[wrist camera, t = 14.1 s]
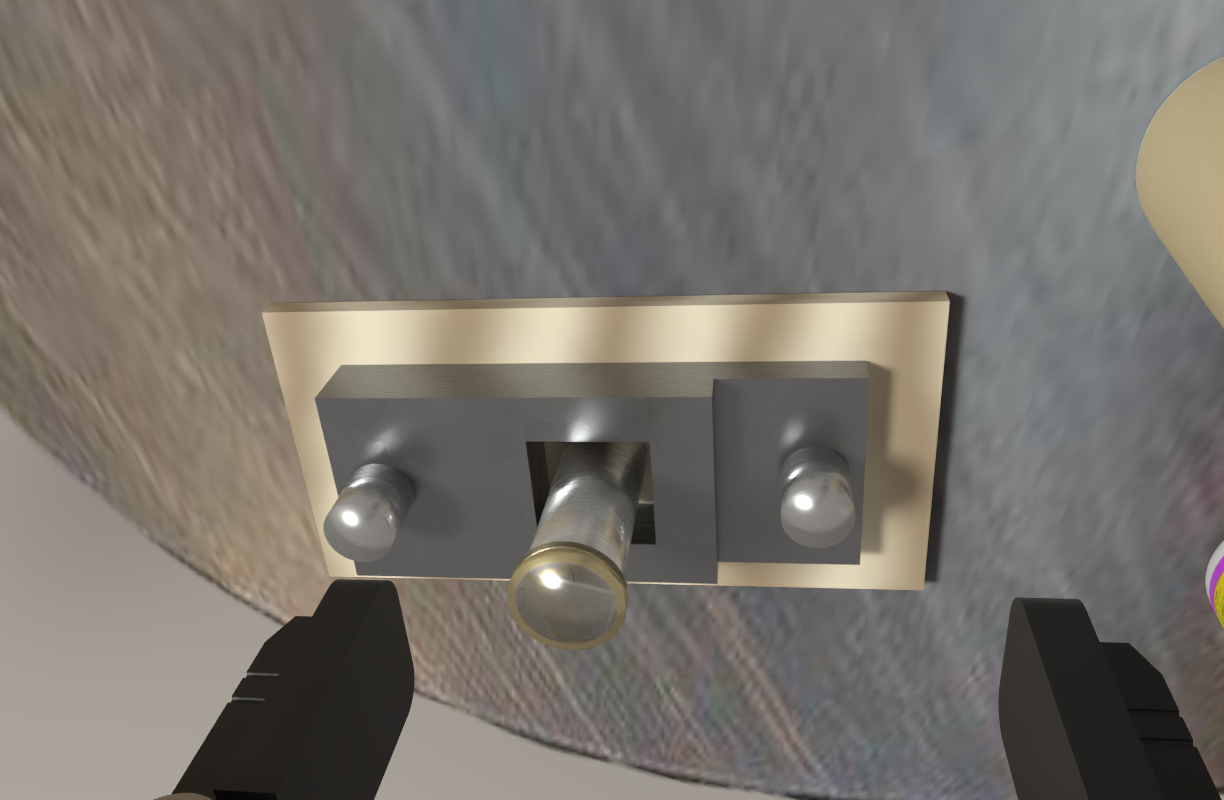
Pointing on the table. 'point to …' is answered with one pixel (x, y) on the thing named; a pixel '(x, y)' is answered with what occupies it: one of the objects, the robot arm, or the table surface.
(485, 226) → the table surface
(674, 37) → the table surface
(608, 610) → the pin
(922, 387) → the birch board
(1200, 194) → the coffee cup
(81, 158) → the table surface
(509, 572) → the knobbed grey block
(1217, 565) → the supplement bottle
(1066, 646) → the robot arm
